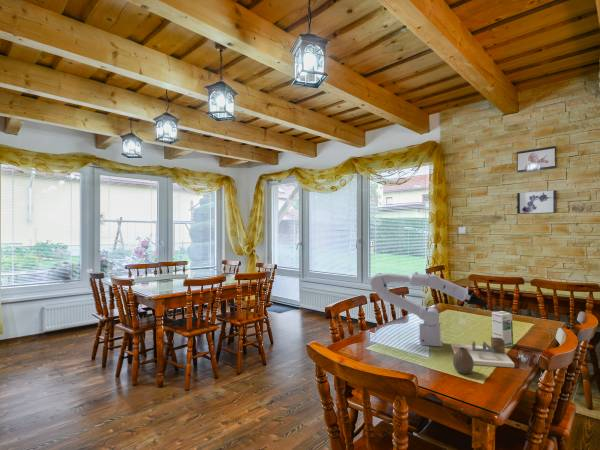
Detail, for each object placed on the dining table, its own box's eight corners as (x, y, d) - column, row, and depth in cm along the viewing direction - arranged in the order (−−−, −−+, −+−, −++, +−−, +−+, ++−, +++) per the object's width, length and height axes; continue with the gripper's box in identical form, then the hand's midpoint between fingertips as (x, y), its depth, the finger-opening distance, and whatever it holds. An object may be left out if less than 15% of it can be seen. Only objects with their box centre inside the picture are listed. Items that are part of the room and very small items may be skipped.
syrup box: (503, 347, 149) (502, 314, 149) (492, 343, 155) (491, 311, 155) (513, 346, 151) (512, 313, 151) (502, 341, 157) (501, 310, 157)
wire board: (458, 363, 134) (458, 359, 134) (451, 347, 151) (451, 343, 151) (514, 367, 129) (514, 363, 129) (500, 350, 146) (500, 346, 146)
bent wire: (473, 357, 136) (472, 348, 136) (468, 349, 145) (468, 341, 145) (495, 359, 134) (495, 350, 134) (489, 350, 142) (489, 342, 142)
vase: (467, 367, 130) (466, 344, 130) (477, 375, 123) (476, 351, 123) (449, 368, 130) (449, 345, 130) (458, 376, 123) (458, 352, 123)
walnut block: (493, 352, 140) (493, 340, 140) (491, 349, 143) (490, 337, 143) (504, 353, 139) (504, 341, 139) (501, 349, 142) (501, 337, 142)
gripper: (458, 282, 147) (491, 297, 142) (455, 281, 160) (486, 294, 156) (451, 297, 147) (484, 312, 142) (449, 294, 161) (479, 308, 156)
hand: (485, 304), depth 149 cm, fingers open, 7 cm apart
